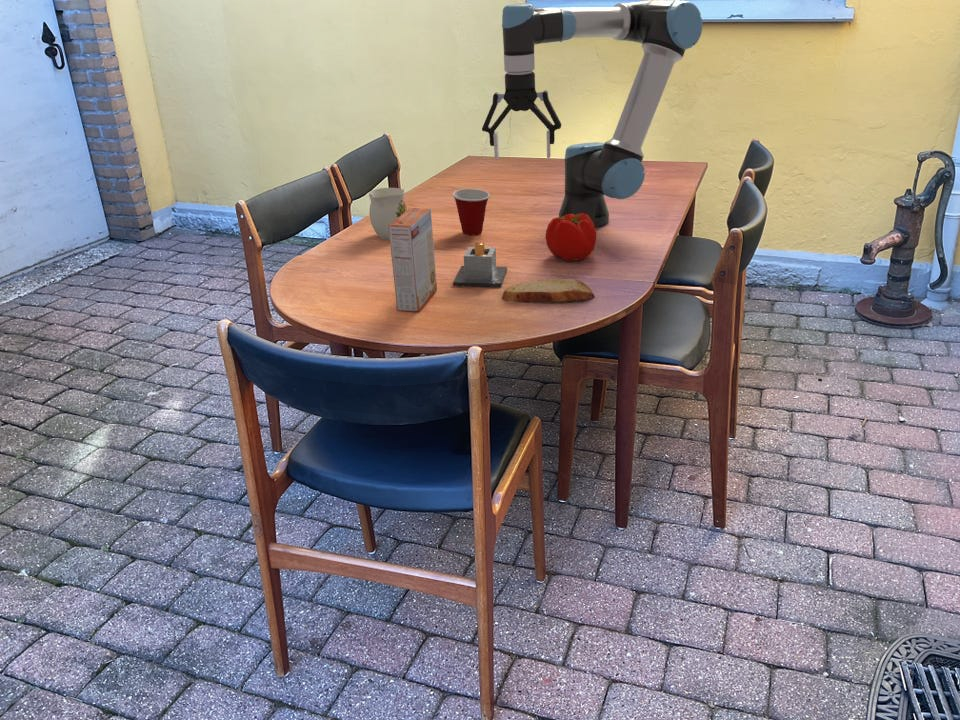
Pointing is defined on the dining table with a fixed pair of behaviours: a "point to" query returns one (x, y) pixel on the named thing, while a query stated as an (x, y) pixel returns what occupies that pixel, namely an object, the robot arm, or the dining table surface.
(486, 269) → the hollow gray block
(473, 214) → the plastic cup
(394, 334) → the dining table surface
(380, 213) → the pitcher
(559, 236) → the tomato
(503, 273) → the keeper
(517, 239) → the dining table surface
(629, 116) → the robot arm
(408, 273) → the cracker box
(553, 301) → the bread slice
